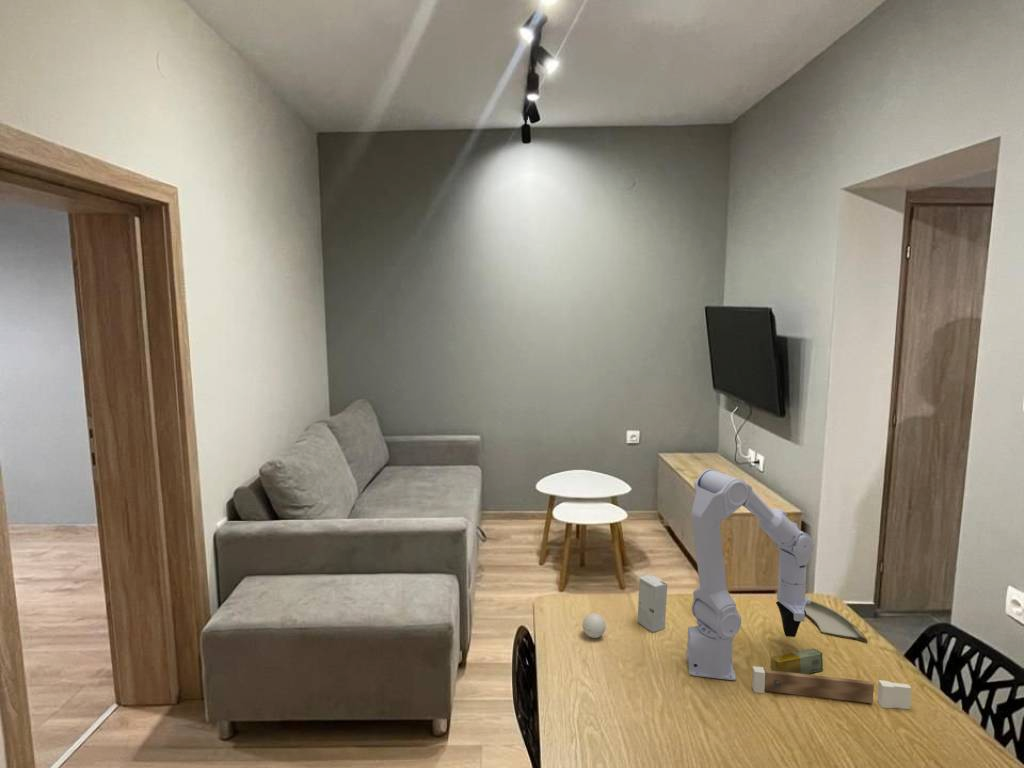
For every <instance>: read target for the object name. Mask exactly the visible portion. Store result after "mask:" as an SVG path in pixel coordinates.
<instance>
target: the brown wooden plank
mask: <svg viewBox="0 0 1024 768" xmlns="http://www.w3.org/2000/svg"><path fill="white" fill-rule="evenodd" d="M873 682H874V681H868V680H860V679H854V678H853V679H852V678H841V677H834V676H824V675H815V674H809V673H808V674H799V673H790V672H781V671H772V670H771V669H765V688H764V691H766V692H771V693H772V692H773V693H781V694H782V693H783V694H790V695H799V696H806V697H816V698H825V699H833V700H840V701H847V702H848V701H849V702H856V703H864V704H865V703H866V704H873V703H874V691H875V684H874V683H873Z"/></svg>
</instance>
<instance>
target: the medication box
mask: <svg viewBox="0 0 1024 768" xmlns="http://www.w3.org/2000/svg"><path fill="white" fill-rule="evenodd" d="M769 658H770V670H772V671H781V672H790V673H799V674H808V675H809V674H813V673H817V672H823V670H824V667H823V665H824V662H823V660H824V659H823V652H822V651H819V650H818V649H816V648H814V647H813V648H808V649H803V650H798V651H793V652H788V653H783V654H778V655H773V656H770V657H769Z"/></svg>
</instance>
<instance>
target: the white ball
mask: <svg viewBox="0 0 1024 768" xmlns="http://www.w3.org/2000/svg"><path fill="white" fill-rule="evenodd" d="M577 626H579V624H577V625H575V627H577ZM606 628H607V626H606V621H605V619H604V617H603V616H601V614H599V613H596V612H595V613H594V612H593V613H589V614H587V615H586V616H585V617H584V618H583V621H582V629H583V632H584V633H585V635H587V636H588V637H589V638H591V639H598V638H601V636H603V635H604V634H605V631H606Z"/></svg>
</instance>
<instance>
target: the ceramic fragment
mask: <svg viewBox="0 0 1024 768" xmlns="http://www.w3.org/2000/svg"><path fill="white" fill-rule="evenodd" d="M805 611H806V616H805V617H807V618H809V619H810V620H811V621H812V622H813V623H814V624H815V625H816V627H817V628H818V630H819V631H820V634H823V635H828V636H833V637H836V638H837V637H838V638H844V639H850V640H856V641H861V642H864V643H868V638H867V637H866V635H864V634H863V632H862V631H861V630H860V629H859V628H858V627H857V626H856V625H855V624H854V623H853V622H852V621H851V620H850V619H849V618H847V617H845V616H844V615H843V614H841V613H839V612H838V611H837V610H835V609H833V608H831V607H829V606H827V605H825V604H823V603H819V602H817V601H814V600H811V603H810V604H806V605H805Z"/></svg>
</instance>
